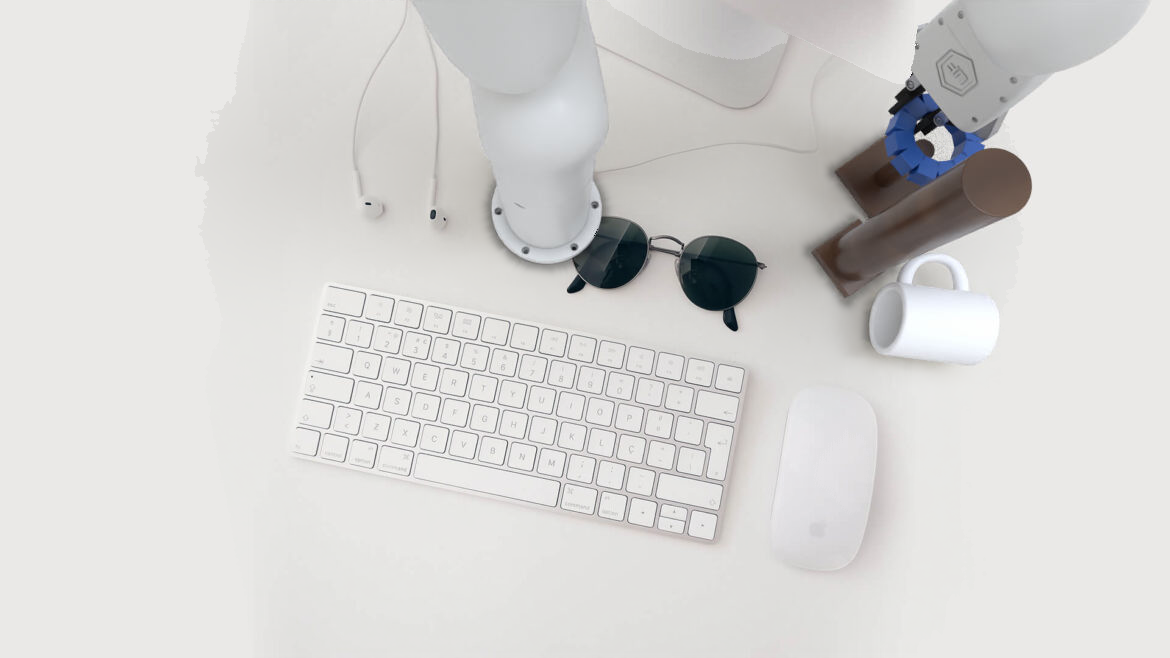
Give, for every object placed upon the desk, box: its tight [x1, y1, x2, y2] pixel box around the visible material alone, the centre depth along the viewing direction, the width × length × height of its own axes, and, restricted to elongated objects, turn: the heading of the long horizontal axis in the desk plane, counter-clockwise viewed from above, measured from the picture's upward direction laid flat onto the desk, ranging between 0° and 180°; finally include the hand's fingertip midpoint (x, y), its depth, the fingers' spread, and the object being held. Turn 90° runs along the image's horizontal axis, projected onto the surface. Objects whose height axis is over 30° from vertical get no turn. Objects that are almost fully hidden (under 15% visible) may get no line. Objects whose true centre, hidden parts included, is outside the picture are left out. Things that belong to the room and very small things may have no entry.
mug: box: [868, 252, 1000, 367], centre depth 69 cm, size 12×10×8 cm
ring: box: [884, 92, 986, 186], centre depth 64 cm, size 9×9×2 cm
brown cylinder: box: [811, 147, 1033, 299], centre depth 61 cm, size 7×7×25 cm
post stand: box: [834, 135, 936, 219], centre depth 70 cm, size 8×8×9 cm
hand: (909, 117), depth 65 cm, fingers closed on ring, 2 cm apart
